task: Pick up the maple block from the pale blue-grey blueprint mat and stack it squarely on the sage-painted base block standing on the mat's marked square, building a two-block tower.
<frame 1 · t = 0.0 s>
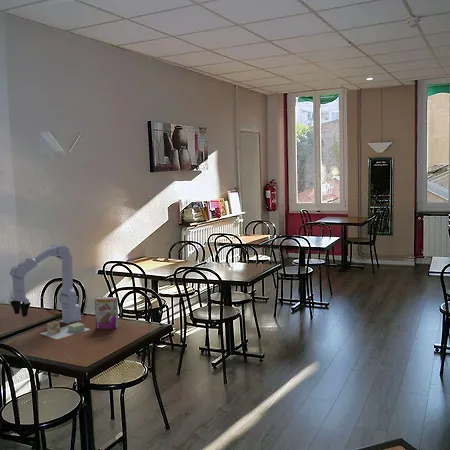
hand: (20, 315, 272), 10 cm above the table, tool pointing down, fingers open, 7 cm apart
candy bar box: (107, 328, 279), on the table
maple block: (53, 332, 273), resting on blueprint mat
sage base block: (76, 330, 275), resting on blueprint mat
blueprint mat: (65, 332, 274), on the table
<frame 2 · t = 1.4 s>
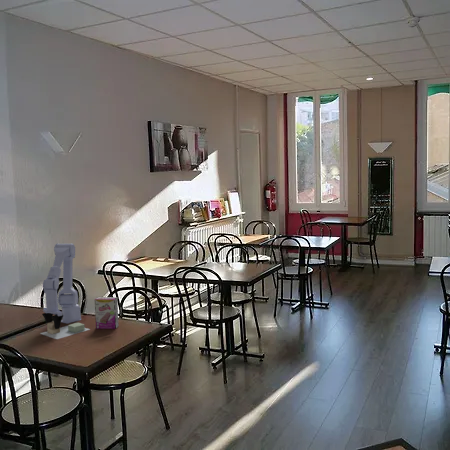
hand: (53, 327, 273), 3 cm above the table, tool pointing down, fingers open, 7 cm apart
nothing on the table moved.
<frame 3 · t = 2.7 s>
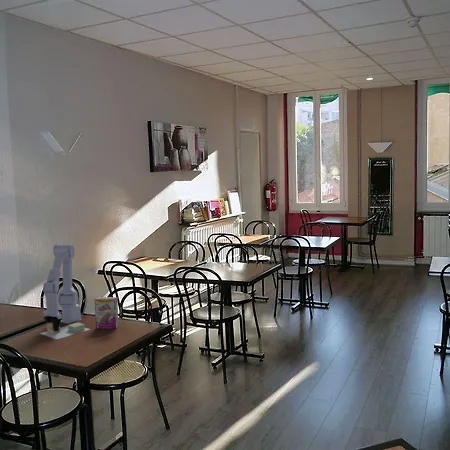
hand: (53, 330, 273), 2 cm above the table, tool pointing down, fingers closed on maple block, 4 cm apart
maple block: (53, 332, 273), resting on blueprint mat, touching gripper
everything else where it was.
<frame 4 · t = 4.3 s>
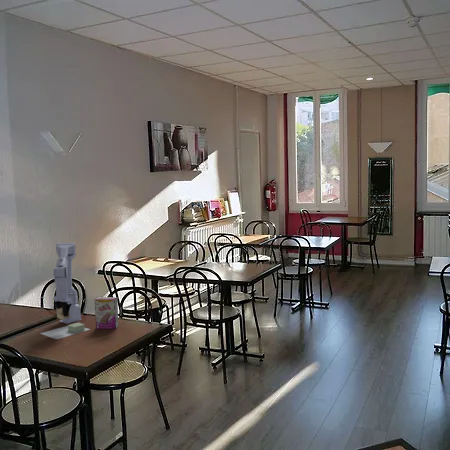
hand: (63, 315, 273), 9 cm above the table, tool pointing down, fingers closed on maple block, 4 cm apart
maple block: (63, 317, 273), point 8 cm above the table, touching gripper
everything else where it was.
when the fingers open (6 cm above the table, at t = 6.1 s): maple block drops 1 cm, resting on sage base block.
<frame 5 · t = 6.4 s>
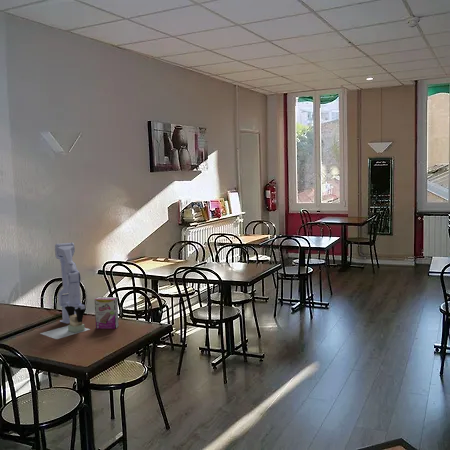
hand: (75, 320, 275), 6 cm above the table, tool pointing down, fingers open, 7 cm apart
maple block: (76, 324, 275), point 3 cm above the table, touching sage base block
sage base block: (76, 330, 275), resting on blueprint mat, touching maple block
everything else where it was.
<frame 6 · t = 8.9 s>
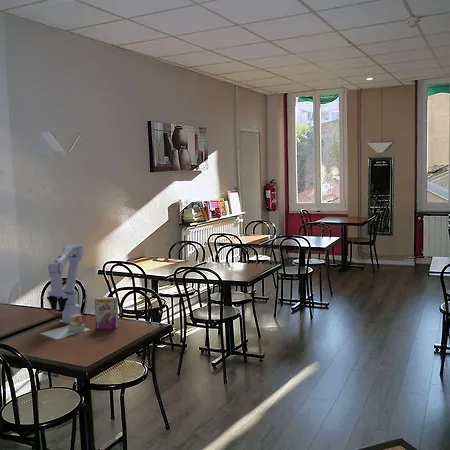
hand: (57, 310, 279), 10 cm above the table, tool pointing down, fingers open, 7 cm apart
nothing on the table moved.
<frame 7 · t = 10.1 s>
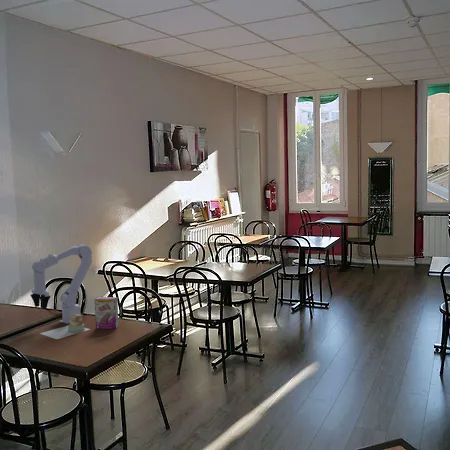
hand: (40, 307, 285), 10 cm above the table, tool pointing down, fingers open, 7 cm apart
nothing on the table moved.
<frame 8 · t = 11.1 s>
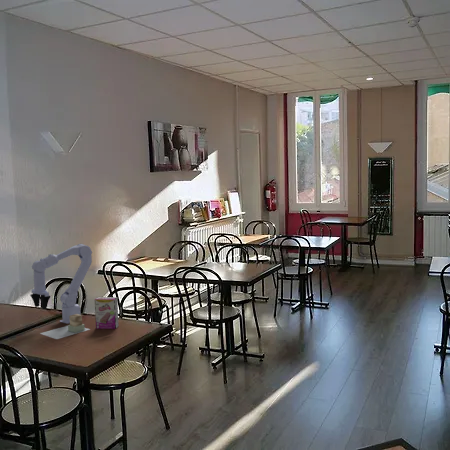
hand: (40, 307, 285), 10 cm above the table, tool pointing down, fingers open, 7 cm apart
nothing on the table moved.
at the end: maple block 0.0 cm off-centre on the sage base block, point 3.0 cm above the sage base block's base; maple block tilted 0°; the gripper is holding nothing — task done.
